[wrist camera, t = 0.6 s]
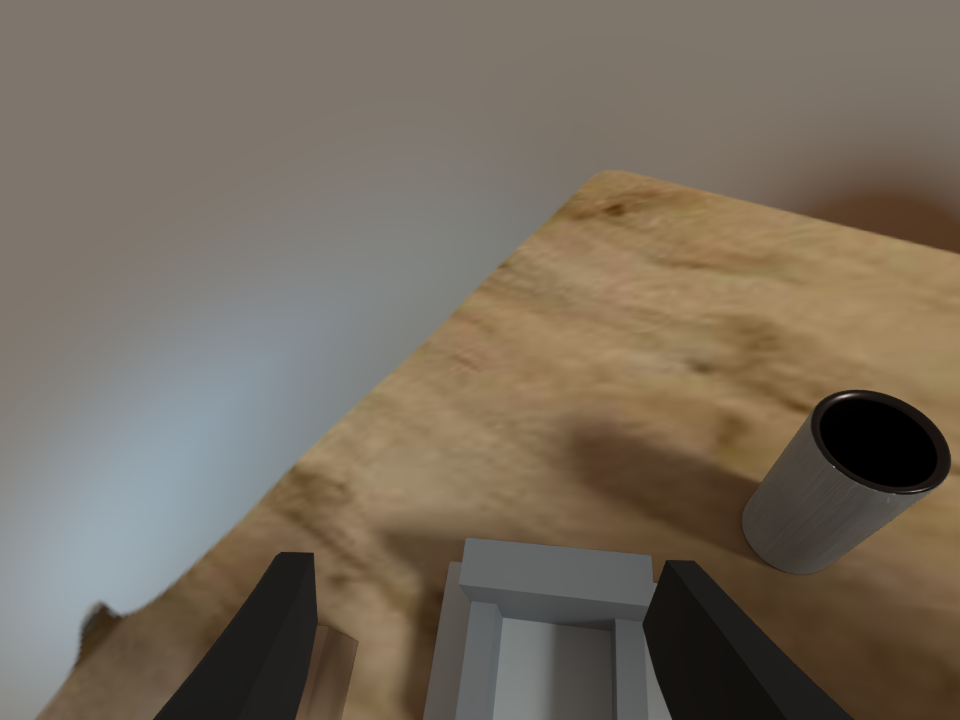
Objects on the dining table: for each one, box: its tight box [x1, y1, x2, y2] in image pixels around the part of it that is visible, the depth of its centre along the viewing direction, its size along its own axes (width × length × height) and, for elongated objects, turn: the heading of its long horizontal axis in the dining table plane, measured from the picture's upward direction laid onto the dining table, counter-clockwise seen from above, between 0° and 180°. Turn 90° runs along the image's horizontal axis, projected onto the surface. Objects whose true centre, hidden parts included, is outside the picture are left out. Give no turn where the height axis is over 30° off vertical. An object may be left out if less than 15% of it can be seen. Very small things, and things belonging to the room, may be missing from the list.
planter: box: [742, 390, 951, 575], centre depth 23 cm, size 4×4×10 cm
